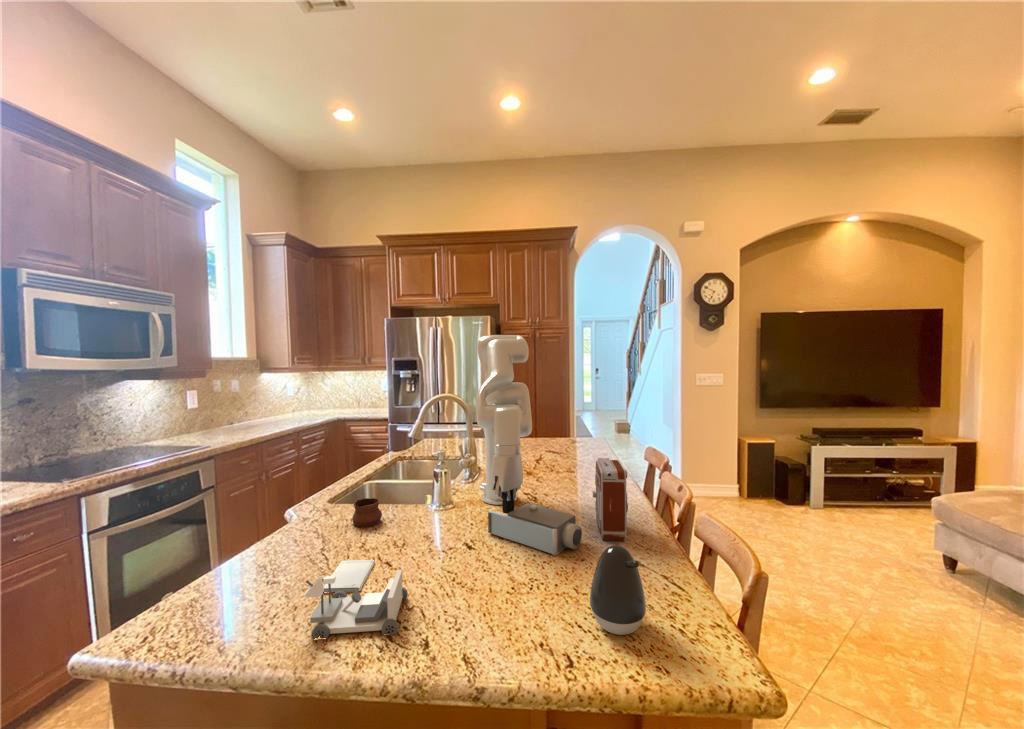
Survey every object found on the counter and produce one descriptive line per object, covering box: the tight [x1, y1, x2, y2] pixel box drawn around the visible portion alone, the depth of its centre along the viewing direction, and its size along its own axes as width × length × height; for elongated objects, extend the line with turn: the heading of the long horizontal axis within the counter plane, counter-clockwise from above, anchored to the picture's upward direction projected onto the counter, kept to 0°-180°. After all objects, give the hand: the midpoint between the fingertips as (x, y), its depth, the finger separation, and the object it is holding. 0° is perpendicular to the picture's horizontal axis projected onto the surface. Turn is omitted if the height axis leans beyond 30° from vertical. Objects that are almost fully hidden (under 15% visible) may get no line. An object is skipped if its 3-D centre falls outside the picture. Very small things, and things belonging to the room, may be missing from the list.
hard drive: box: [323, 559, 376, 593], centre depth 96 cm, size 2×8×12 cm
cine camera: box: [592, 457, 629, 542], centre depth 121 cm, size 9×19×20 cm, turn 174°
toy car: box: [303, 569, 409, 640], centre depth 81 cm, size 18×10×12 cm
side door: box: [487, 510, 558, 557], centre depth 112 cm, size 23×2×6 cm, turn 52°
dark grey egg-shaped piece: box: [589, 543, 647, 636], centre depth 78 cm, size 10×10×15 cm
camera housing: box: [507, 502, 583, 555], centre depth 114 cm, size 20×10×8 cm, turn 52°
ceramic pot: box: [336, 497, 383, 530], centre depth 128 cm, size 18×18×7 cm
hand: (508, 512), depth 120 cm, fingers closed
